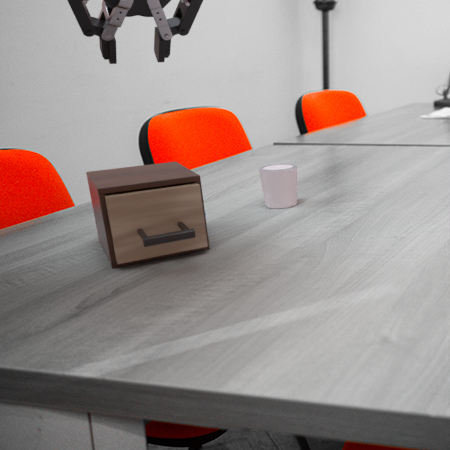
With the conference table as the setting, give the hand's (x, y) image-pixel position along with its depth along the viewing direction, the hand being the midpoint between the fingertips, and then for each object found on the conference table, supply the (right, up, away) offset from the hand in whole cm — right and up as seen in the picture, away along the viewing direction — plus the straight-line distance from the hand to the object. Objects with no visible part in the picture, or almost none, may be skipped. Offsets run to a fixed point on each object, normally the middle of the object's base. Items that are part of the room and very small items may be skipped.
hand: (135, 57), depth 68 cm
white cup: (+10, -16, +37) cm, 41 cm away
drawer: (-2, -23, +11) cm, 26 cm away
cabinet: (-5, -23, +16) cm, 28 cm away
